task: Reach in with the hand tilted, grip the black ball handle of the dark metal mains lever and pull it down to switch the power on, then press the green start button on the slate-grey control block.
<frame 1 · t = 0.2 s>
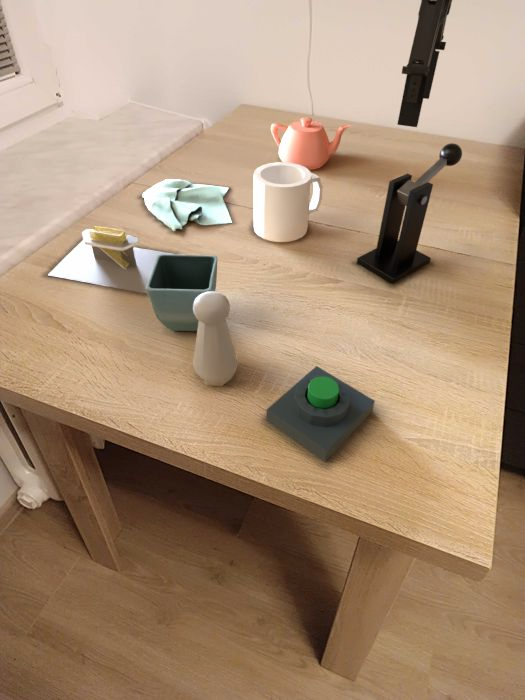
hand: (414, 110, 75), 23 cm above the table, tool pointing down, fingers open, 13 cm apart
flower pot: (189, 321, 76), on the table
platform: (113, 265, 86), on the table
cloth: (188, 206, 101), on the table
salt shaker: (216, 376, 67), on the table
teapot: (307, 161, 118), on the table
switch bracket: (392, 263, 87), on the table
control block: (319, 416, 62), on the table
mug: (286, 227, 96), on the table
lever: (430, 173, 79), point 15 cm above the table, hinge at 22.0°
start button: (323, 392, 59), point 5 cm above the table, slide at 0.2 cm
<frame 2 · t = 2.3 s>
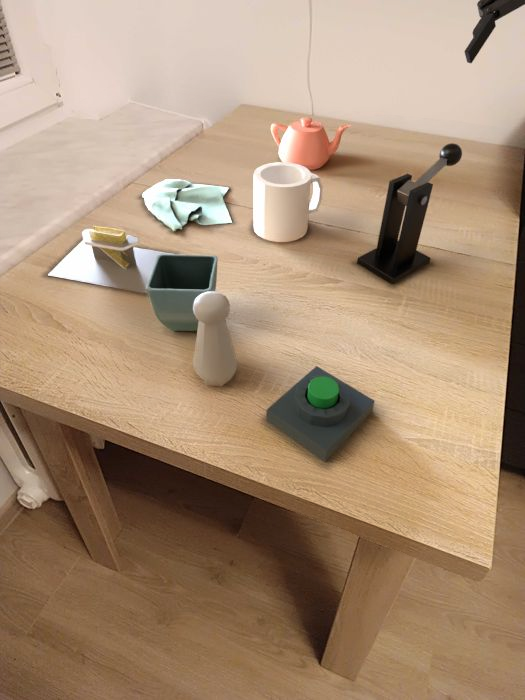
hand: (506, 68, 77), 28 cm above the table, tool tilted 45°, fingers open, 13 cm apart
nothing on the table moved.
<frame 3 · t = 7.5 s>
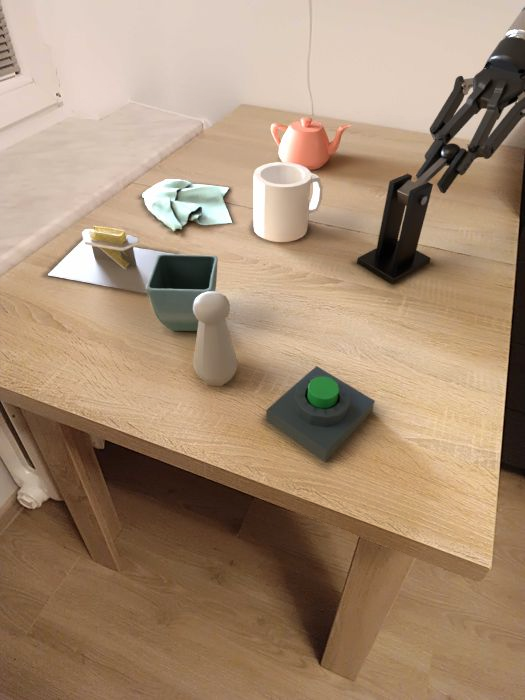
hand: (430, 184, 81), 13 cm above the table, tool tilted 45°, fingers closed on lever, 3 cm apart
lever: (430, 173, 79), point 15 cm above the table, hinge at 22.0°, touching gripper
everything else where it was.
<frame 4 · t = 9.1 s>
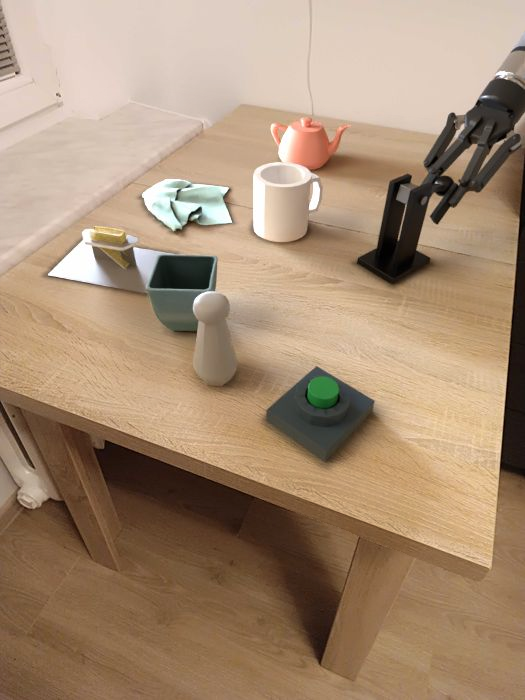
hand: (423, 215, 85), 7 cm above the table, tool tilted 45°, fingers closed on lever, 3 cm apart
lever: (427, 189, 81), point 12 cm above the table, hinge at -9.8°, touching gripper
everything else where it was.
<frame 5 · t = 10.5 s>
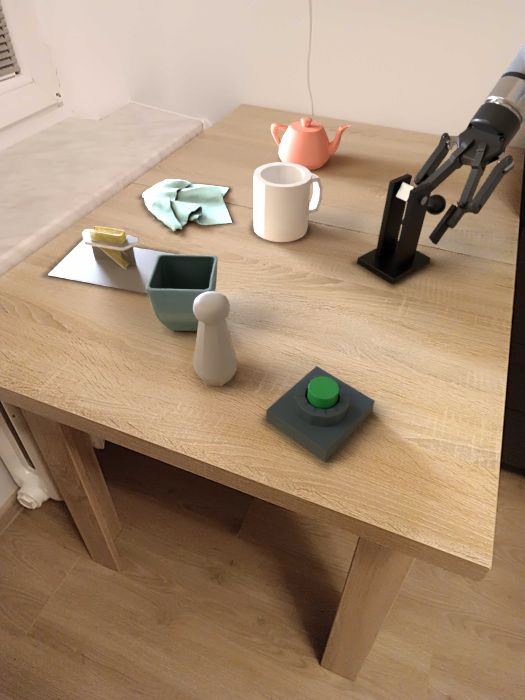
hand: (418, 233, 87), 4 cm above the table, tool tilted 45°, fingers open, 5 cm apart
lever: (423, 199, 82), point 11 cm above the table, hinge at -28.3°
everything else where it was.
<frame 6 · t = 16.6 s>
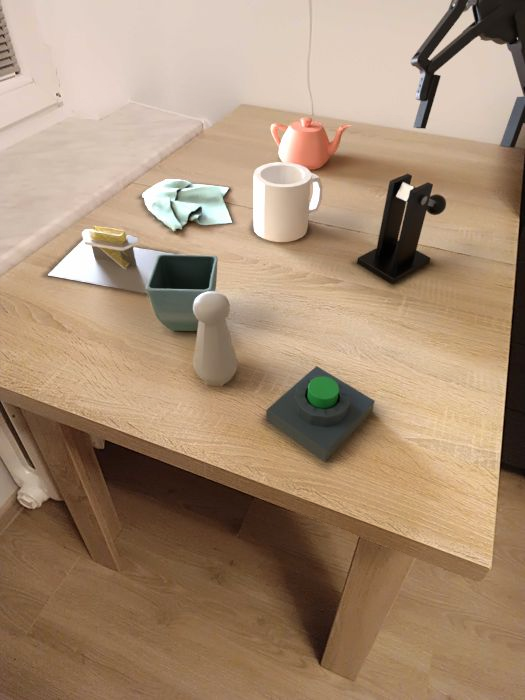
hand: (463, 137, 71), 22 cm above the table, tool tilted 20°, fingers open, 13 cm apart
nothing on the table moved.
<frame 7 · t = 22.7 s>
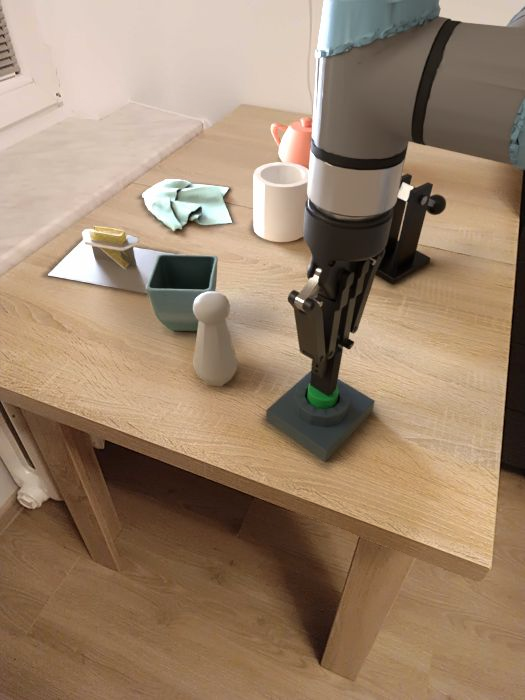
hand: (322, 387, 59), 5 cm above the table, tool pointing down, fingers closed
start button: (322, 393, 59), point 4 cm above the table, slide at -0.1 cm, touching gripper
everything else where it was.
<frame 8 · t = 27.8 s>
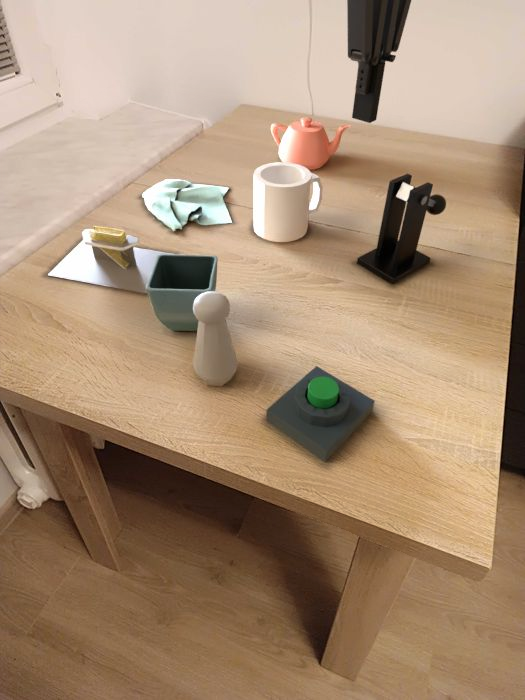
hand: (364, 118, 64), 26 cm above the table, tool pointing down, fingers closed
start button: (323, 392, 59), point 5 cm above the table, slide at 0.1 cm
everything else where it was.
at the end: lever at -28° (first picture: +22°); start button pushed in 1.0 cm at the most during the clip, back to where it started at the end; start button slide at 0.1 cm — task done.
